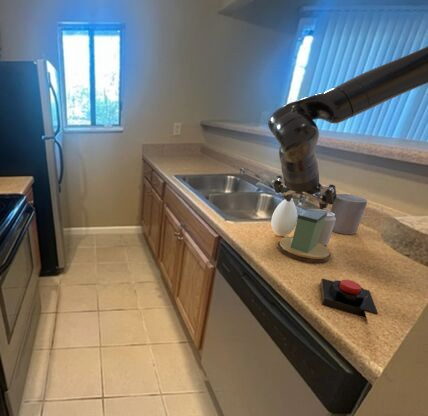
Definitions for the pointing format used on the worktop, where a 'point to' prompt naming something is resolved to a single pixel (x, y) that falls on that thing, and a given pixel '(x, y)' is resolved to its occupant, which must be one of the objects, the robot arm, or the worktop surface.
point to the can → (327, 227)
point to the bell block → (346, 299)
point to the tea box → (307, 236)
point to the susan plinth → (302, 259)
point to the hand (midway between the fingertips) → (305, 202)
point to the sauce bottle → (284, 218)
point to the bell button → (350, 286)
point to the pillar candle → (348, 213)
